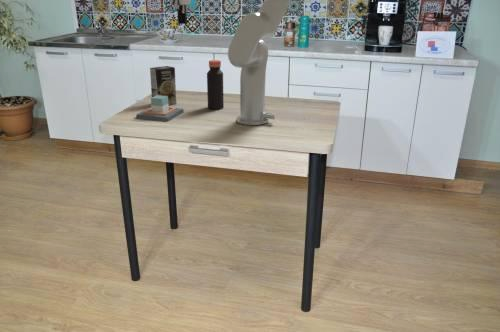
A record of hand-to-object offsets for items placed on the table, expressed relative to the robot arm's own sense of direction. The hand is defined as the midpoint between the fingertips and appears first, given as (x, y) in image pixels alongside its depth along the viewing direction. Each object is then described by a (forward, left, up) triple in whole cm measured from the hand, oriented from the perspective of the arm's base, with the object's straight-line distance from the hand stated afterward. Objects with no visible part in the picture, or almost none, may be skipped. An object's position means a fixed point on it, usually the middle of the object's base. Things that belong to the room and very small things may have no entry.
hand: (182, 23), depth 187 cm
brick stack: (+6, +12, -34) cm, 36 cm away
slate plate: (+6, +12, -35) cm, 38 cm away
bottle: (-11, -6, -35) cm, 37 cm away
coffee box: (+13, -5, -35) cm, 38 cm away
